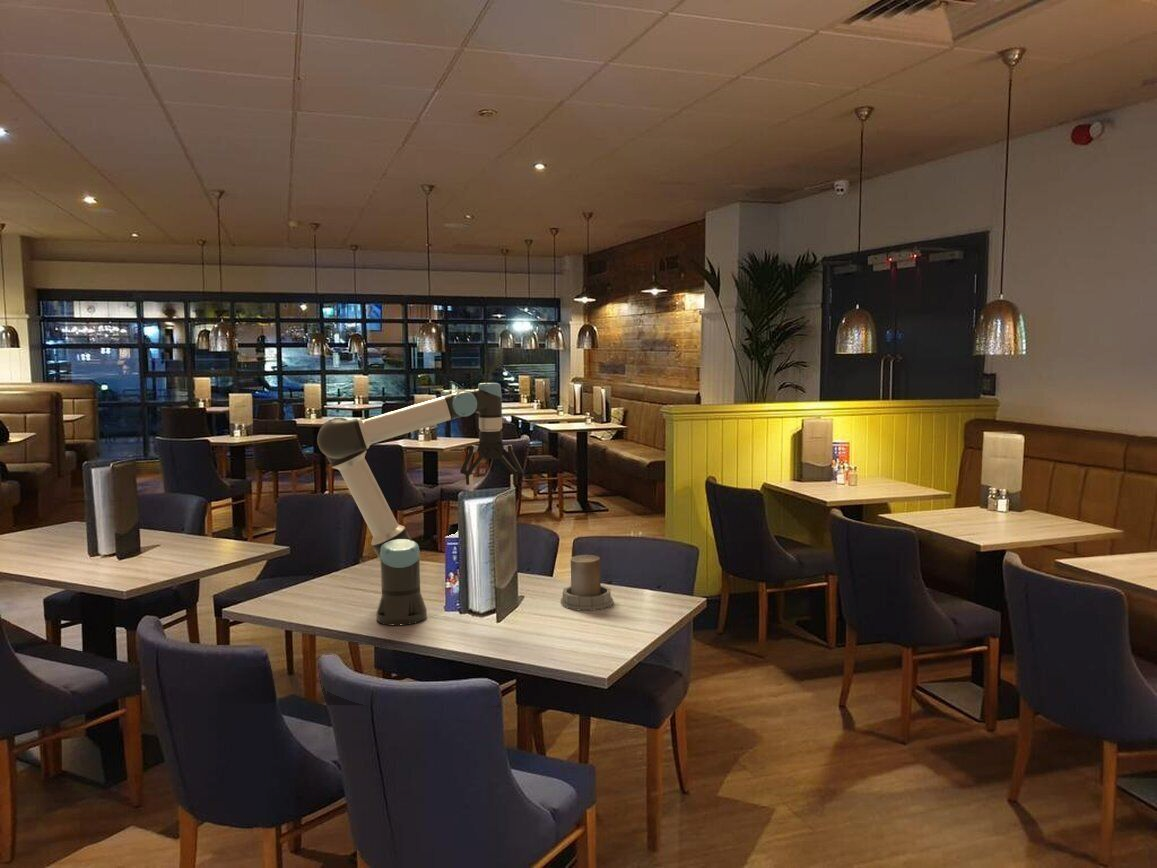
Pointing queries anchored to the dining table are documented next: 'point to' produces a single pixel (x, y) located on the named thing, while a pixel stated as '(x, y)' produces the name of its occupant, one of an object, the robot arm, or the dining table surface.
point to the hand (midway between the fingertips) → (491, 494)
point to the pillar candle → (585, 575)
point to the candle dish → (587, 600)
